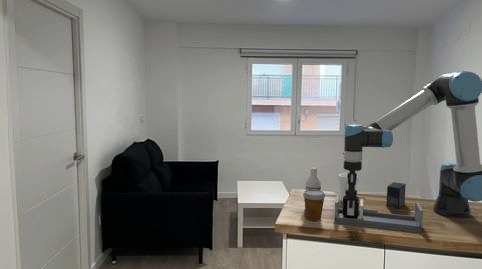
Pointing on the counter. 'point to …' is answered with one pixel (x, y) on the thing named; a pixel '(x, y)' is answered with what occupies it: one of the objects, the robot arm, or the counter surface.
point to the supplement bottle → (356, 205)
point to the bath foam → (313, 181)
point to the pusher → (365, 210)
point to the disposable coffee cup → (313, 204)
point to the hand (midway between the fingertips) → (350, 212)
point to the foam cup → (344, 184)
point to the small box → (396, 195)
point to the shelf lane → (383, 219)
